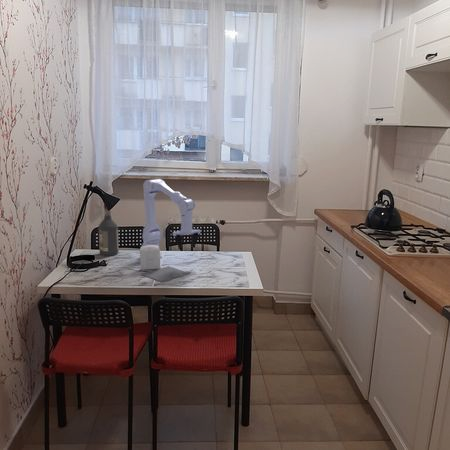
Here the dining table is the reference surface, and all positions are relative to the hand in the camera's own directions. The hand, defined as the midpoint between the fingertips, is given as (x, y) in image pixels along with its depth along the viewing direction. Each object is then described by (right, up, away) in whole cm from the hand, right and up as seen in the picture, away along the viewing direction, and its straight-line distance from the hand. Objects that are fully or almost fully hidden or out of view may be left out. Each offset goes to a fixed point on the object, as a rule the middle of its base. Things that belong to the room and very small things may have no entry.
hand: (186, 248), depth 230 cm
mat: (-10, -12, -11) cm, 19 cm away
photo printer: (-18, -11, -3) cm, 21 cm away
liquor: (-46, -5, +23) cm, 52 cm away
